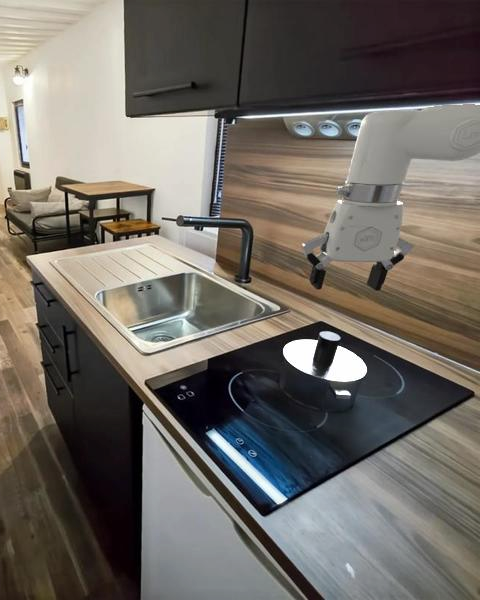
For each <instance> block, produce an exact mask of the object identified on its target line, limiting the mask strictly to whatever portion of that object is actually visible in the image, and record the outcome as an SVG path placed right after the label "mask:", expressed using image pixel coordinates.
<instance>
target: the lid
mask: <svg viewBox="0 0 480 600" xmlns="http://www.w3.org/2000/svg"><path fill="white" fill-rule="evenodd" d="M340 343H341V336H340V335H339V334H338V333H335V332H332V331H327V330H325V331H320V332H319V334H318V337H317V340H315V339H297V340H293V341H291V342H288V343H287V344H285V346H284V347H283V350H282V356H283V360H284V359H285V360H286V362H287V363H288V364H289V365H290V366H291V367H293V368H294V369H295V370H297V371H299V372H300V373H302V374H304V375H307V376H309V377H312V378H314V379H317V380H321V381H325V382H330V383H339V384H347V383H354V382H358V381H360V380H362V381H363V379H364V378H365V377H366V375H367V373H368V368H367V365H366V363H365V362H364V361H363V359H362V358H360V357H359V356H357V354H355V353H354V352H352V351H350V350H348V349H347V348H345V347H342V346H339V345H340Z"/></svg>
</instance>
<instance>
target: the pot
mask: <svg viewBox="0 0 480 600" xmlns="http://www.w3.org/2000/svg"><path fill="white" fill-rule="evenodd" d="M362 381H363V379H362V380H360V381H358V382H354V383H347V384H339V383H330V382H325V381H321V380H317V379H314V378H312V377H309V376H307V375H304V374H302V373H300V372H299V371H297V370H295V369H294V368H293V367H291V366H290V365H289V364H288V363H287V362H286V360H285V359H284V358H283V363H282V368H281V372H280V375H279V380H278V384H279V387H280V389H281V391H282V392H283V394H284V395H285V396H286V397H287V398H289V399H290V400H292V401H293V402H294V403H297V404H298V405H300V406H302V407H305V408H307V409H310V410H312V411H316V412H321V413H331V414H335V413H336V414H337V413H343V412H346V411H347V410H349V409H350V408H352V406H353V405H354V403H355V401H356V398H357V396H358V393H359V390H360V388H361V387H360V386H361V384H362Z"/></svg>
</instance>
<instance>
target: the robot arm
mask: <svg viewBox="0 0 480 600" xmlns="http://www.w3.org/2000/svg"><path fill="white" fill-rule="evenodd" d="M479 154H480V105H475V104H463V105H442V106H434V107H429V106H427V107H425V108H422V109H420V110H419V109H410V108H409V109H389V110H376V111H373V112H370V113H368V114H366V115H365V116H364V118H363V119H362V120H361V122H360V126H359V130H358V134H357V138H356V141H355V145H354V150H353V153H352V157H351V162H350V166H349V169H348V173H347V178H346V180H345V182H344V183H343V185H342V186H337V187H336V188H335V190H334V191H335V192H334V195H336V196H340V197H341V199H337V201H336V203H335V204H334V207H333V209H332V211H331V213H330V214H329V215H330V216H329V218H328V220H327V222H326V223H327V224H326V226H325V229H324V232H323V234H322V235H319V236H316V237H313V238H312V239H309V240H307V241H305V242H302V243H301V245H300V246H301V249H302V251H303V254H304V257H305V259H307V261H308V262H309V263H310V264H311V265H312V266H311V267H312V268H311V272H310V276H309V283H310V285H311V286H312V287H313V288H314V289H315V290H322V289H323V285H324V281H325V277H326V273H327V270H326V268H325V267H326V266H328V265H329V264H330V263H331V262H333V261H334V262H339V263H340V262H342V263H373V264H372V265H371V268H370V272H369V275H368V279H367V282H366V285H367V286H369V287H370V288H371V289H373V290H374V291H375V292H379V291H381V289H382V287H383V285H384V283H385V281H386V278H387V276H388V275H387V274H388V272H389V271H390V270H393V269H394V267H395V265H398V264H399V263H400V262H401V261H403V260H404V259H405V257H406V256H407V255H408V254H409V253H410V252H411V251H412V250H413V249H414V247H415V246H414V244H412V243H411V242H409V241H407V240H405V239H403V238H401V237H400V234H401V229H402V223H403V215H404V213H403V212H404V203H403V202H402V201H399V199H400V195H401V193H402V189H403V186H404V183H405V180H406V177H407V173H408V170H409V167H410V165H411V164H410V163H411V161H412V160H415V159H416V160H428V161H437V162H438V161H439V162H457V161H462V160H467V159H470V158H472V157H475V156H477V155H479ZM318 247H320V250H319V251H320V252H319V253H318V254H315V252H314V249H315V248H318ZM374 263H376V264H374Z"/></svg>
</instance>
